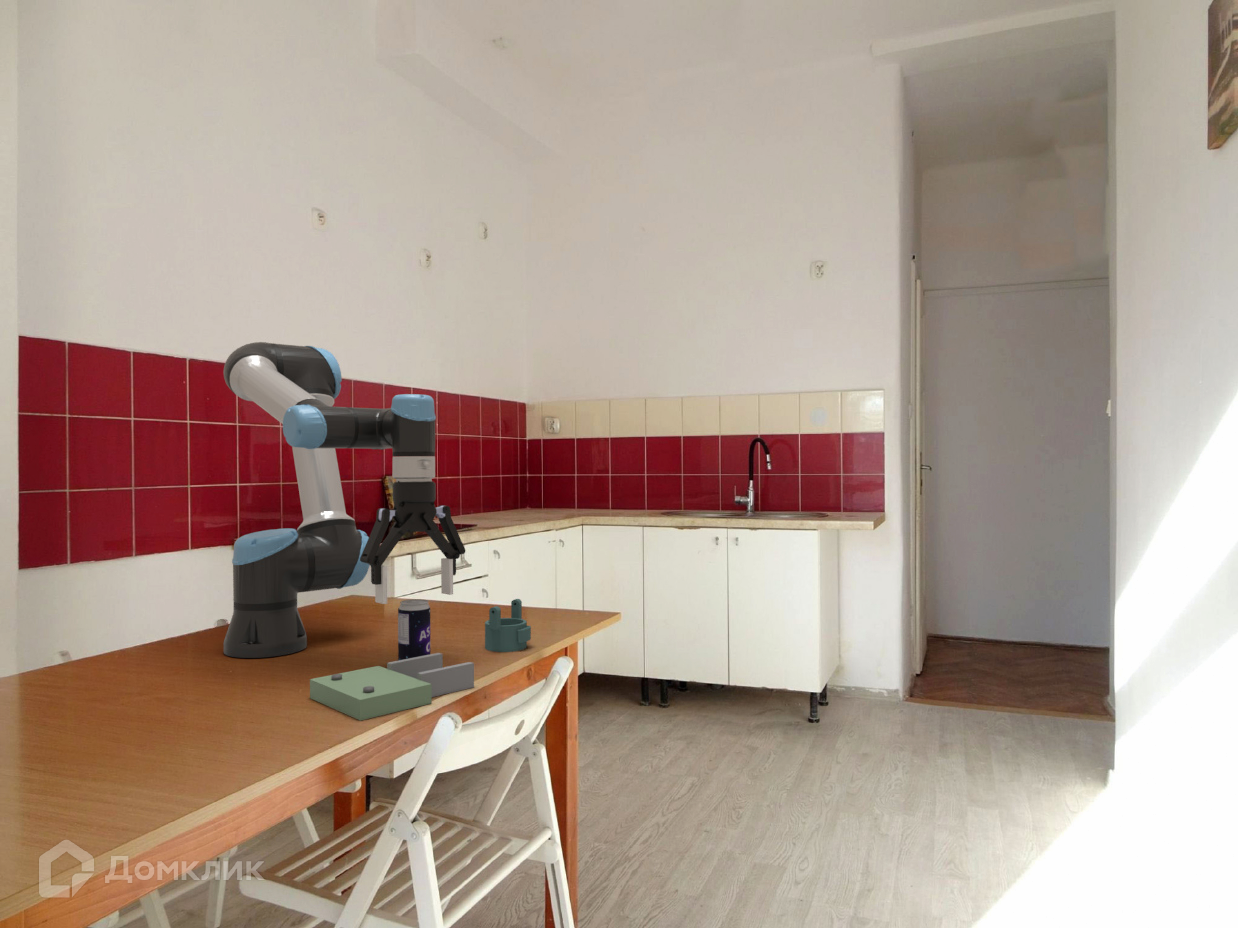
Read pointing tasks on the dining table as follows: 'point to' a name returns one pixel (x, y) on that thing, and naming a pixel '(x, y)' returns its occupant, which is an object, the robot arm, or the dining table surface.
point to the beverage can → (413, 629)
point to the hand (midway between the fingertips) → (415, 598)
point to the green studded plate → (391, 686)
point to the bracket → (507, 630)
